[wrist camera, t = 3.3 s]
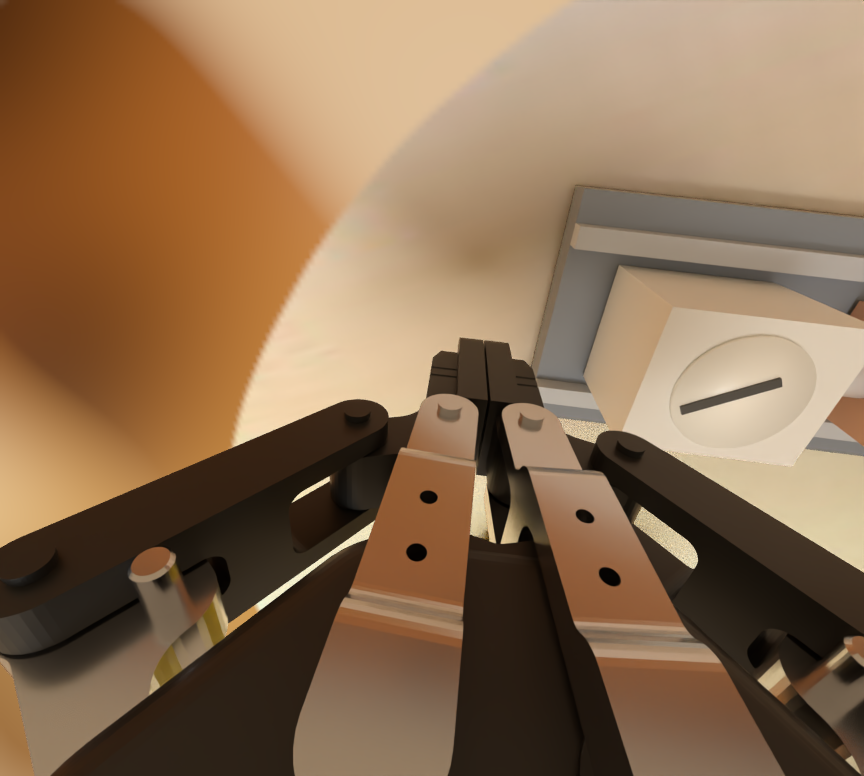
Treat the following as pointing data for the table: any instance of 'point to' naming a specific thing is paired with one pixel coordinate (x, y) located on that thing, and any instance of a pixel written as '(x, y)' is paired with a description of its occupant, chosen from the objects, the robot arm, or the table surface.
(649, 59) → the table surface
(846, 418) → the brown slider plate
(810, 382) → the gauge housing
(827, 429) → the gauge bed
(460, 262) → the table surface
